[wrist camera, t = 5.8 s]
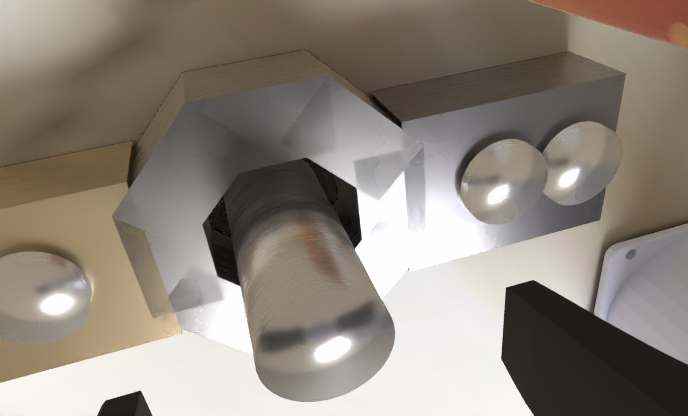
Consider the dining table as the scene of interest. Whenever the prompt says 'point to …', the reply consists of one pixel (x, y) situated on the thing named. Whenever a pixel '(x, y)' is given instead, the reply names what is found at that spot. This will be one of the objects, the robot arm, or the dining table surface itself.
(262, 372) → the pin
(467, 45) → the dining table surface
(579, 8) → the small box
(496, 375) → the dining table surface
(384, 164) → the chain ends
